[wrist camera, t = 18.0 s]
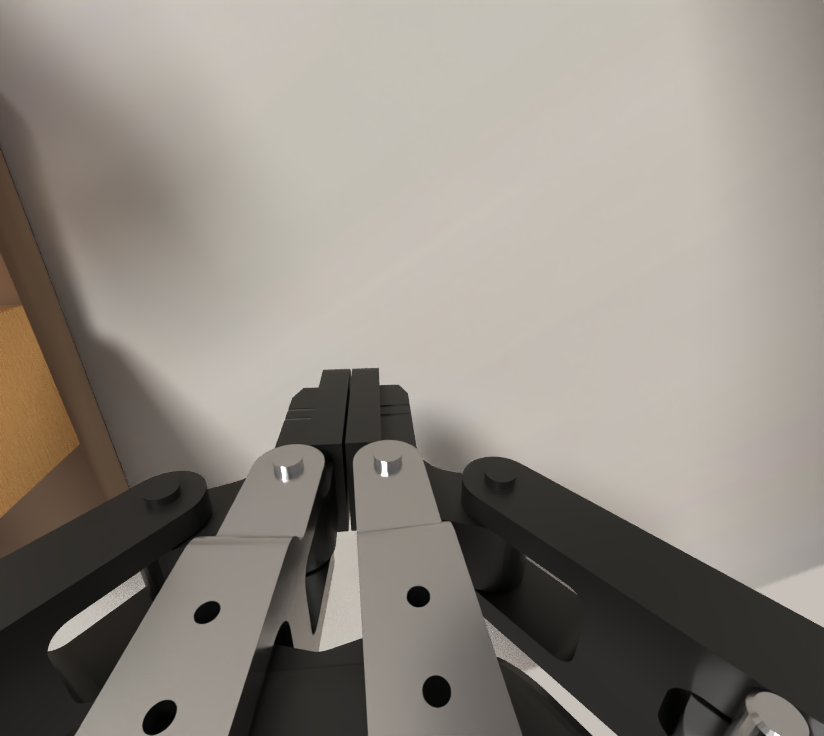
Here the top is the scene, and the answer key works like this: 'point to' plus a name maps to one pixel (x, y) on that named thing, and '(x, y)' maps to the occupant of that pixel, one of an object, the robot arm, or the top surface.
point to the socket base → (95, 456)
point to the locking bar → (27, 411)
